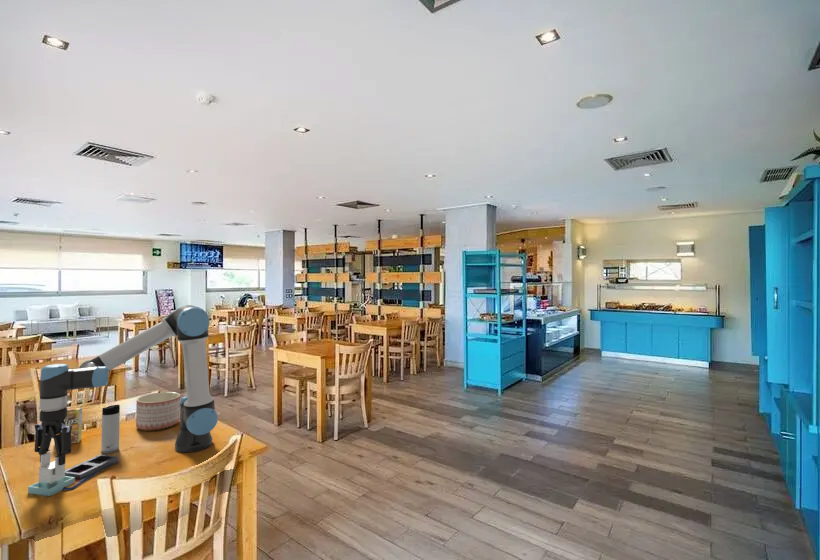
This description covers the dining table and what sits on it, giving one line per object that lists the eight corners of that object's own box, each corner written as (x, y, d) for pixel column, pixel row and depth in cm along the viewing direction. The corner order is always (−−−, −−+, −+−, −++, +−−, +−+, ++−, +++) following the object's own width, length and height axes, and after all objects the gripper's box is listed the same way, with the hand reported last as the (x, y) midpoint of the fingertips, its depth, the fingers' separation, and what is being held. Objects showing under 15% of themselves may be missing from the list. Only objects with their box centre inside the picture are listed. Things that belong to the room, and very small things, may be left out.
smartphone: (101, 471, 160) (101, 469, 160) (71, 490, 145) (71, 487, 145) (82, 471, 160) (82, 469, 160) (50, 491, 145) (50, 487, 145)
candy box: (54, 445, 182) (54, 411, 182) (58, 442, 186) (58, 408, 186) (78, 442, 186) (79, 409, 186) (81, 439, 190) (82, 406, 190)
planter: (147, 435, 196) (147, 404, 196) (128, 427, 206) (129, 397, 207) (187, 424, 212) (187, 395, 212) (168, 416, 223) (168, 389, 223)
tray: (74, 484, 149) (74, 477, 149) (48, 496, 141) (49, 489, 141) (54, 481, 151) (54, 474, 151) (27, 493, 142) (28, 486, 142)
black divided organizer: (118, 462, 167) (118, 456, 167) (80, 481, 151) (80, 474, 151) (100, 460, 169) (100, 454, 169) (60, 478, 153) (60, 472, 153)
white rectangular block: (64, 484, 148) (65, 462, 148) (50, 491, 143) (50, 469, 143) (53, 483, 149) (53, 461, 149) (38, 490, 144) (39, 467, 144)
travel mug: (110, 454, 174) (111, 408, 174) (97, 453, 176) (98, 406, 176) (123, 448, 180) (124, 403, 180) (110, 447, 182) (111, 402, 182)
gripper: (85, 407, 148) (84, 470, 148) (43, 403, 151) (42, 465, 151) (64, 413, 140) (62, 480, 140) (21, 409, 144) (19, 474, 144)
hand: (52, 472), depth 146 cm, fingers open, 6 cm apart
